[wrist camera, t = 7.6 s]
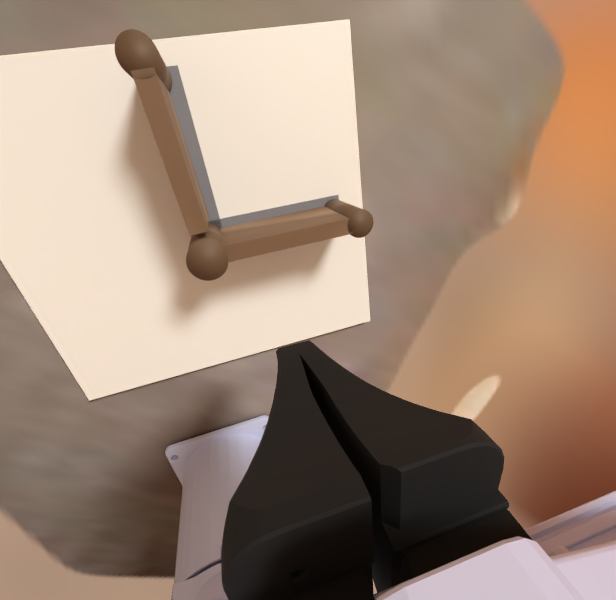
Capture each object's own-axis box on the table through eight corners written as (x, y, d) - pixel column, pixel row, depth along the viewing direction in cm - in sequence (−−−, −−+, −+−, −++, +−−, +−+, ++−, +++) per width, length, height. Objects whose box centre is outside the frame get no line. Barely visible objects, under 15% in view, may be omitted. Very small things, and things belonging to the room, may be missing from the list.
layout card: (367, 317, 24) (370, 320, 24) (91, 395, 21) (89, 400, 20) (345, 22, 16) (349, 19, 16) (-109, 71, 13) (-121, 68, 12)
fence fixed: (345, 223, 20) (378, 240, 16) (197, 256, 18) (193, 284, 14) (343, 193, 19) (377, 204, 15) (187, 225, 17) (180, 246, 14)
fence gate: (188, 220, 17) (182, 237, 14) (133, 62, 14) (107, 32, 11) (214, 214, 18) (214, 230, 14) (165, 57, 14) (150, 26, 11)
